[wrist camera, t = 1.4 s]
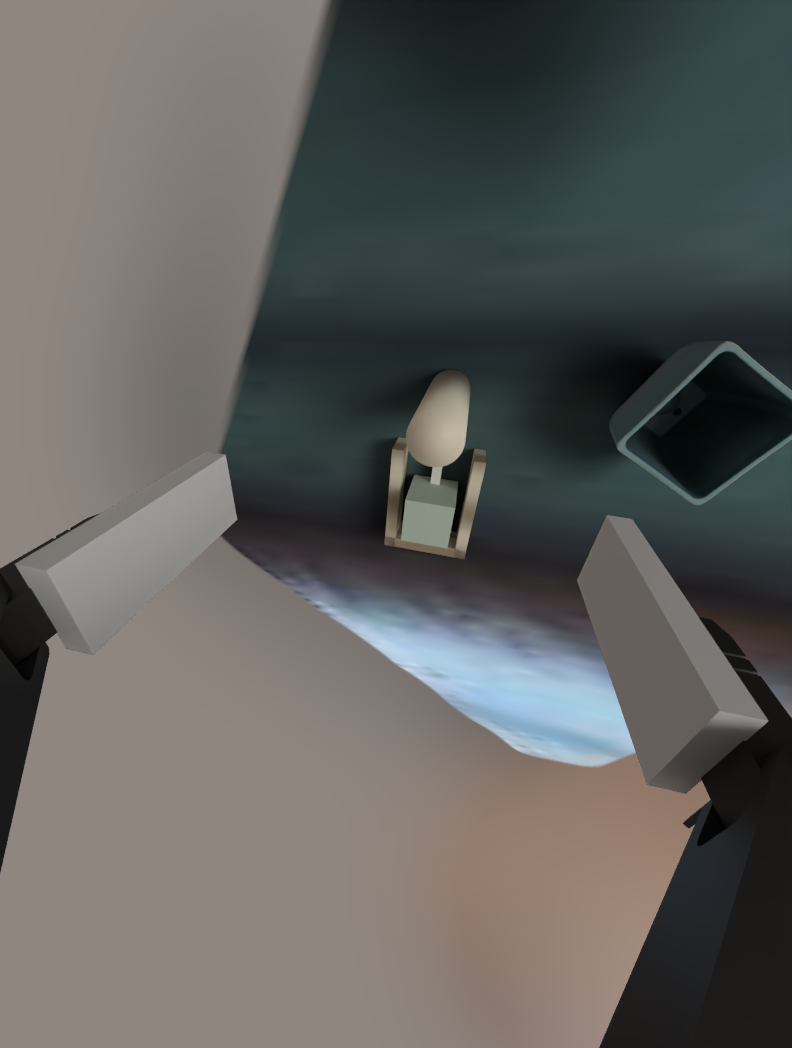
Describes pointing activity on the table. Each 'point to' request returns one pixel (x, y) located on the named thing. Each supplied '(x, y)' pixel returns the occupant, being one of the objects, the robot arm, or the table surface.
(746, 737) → the robot arm
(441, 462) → the beige teardrop-shaped paddle
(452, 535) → the beige u-shaped frame
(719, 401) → the flower pot
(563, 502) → the table surface
